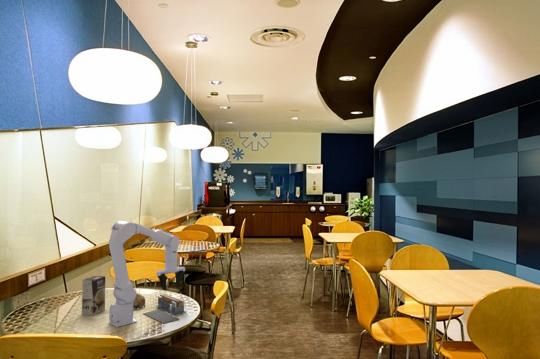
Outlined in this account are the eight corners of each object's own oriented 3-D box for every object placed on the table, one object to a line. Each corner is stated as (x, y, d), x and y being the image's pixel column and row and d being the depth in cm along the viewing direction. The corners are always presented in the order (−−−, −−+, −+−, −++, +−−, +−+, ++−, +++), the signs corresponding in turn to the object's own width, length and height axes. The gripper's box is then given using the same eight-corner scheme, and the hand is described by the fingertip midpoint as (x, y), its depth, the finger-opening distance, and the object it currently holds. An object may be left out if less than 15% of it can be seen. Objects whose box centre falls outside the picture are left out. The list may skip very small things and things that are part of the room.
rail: (177, 306, 187) (178, 301, 187) (159, 299, 198) (159, 294, 198) (182, 305, 189) (182, 300, 189) (164, 298, 200) (164, 293, 200)
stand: (175, 315, 185) (175, 303, 185) (156, 307, 197) (156, 296, 197) (186, 312, 189) (186, 301, 190) (166, 304, 201) (166, 293, 201)
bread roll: (147, 312, 201) (149, 295, 205) (139, 309, 192) (142, 291, 196) (128, 311, 202) (131, 295, 206) (119, 308, 193) (122, 291, 197)
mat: (163, 324, 174) (163, 323, 174) (143, 314, 187) (143, 313, 187) (179, 319, 180) (179, 318, 180) (158, 310, 192) (158, 309, 192)
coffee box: (93, 315, 184) (94, 280, 184) (81, 314, 185) (81, 279, 186) (105, 309, 193) (106, 275, 193) (93, 308, 194) (94, 275, 195)
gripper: (179, 256, 201) (179, 284, 201) (153, 260, 191) (153, 289, 191) (187, 258, 196) (187, 286, 196) (161, 263, 186) (160, 292, 186)
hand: (171, 288), depth 193 cm, fingers open, 7 cm apart
